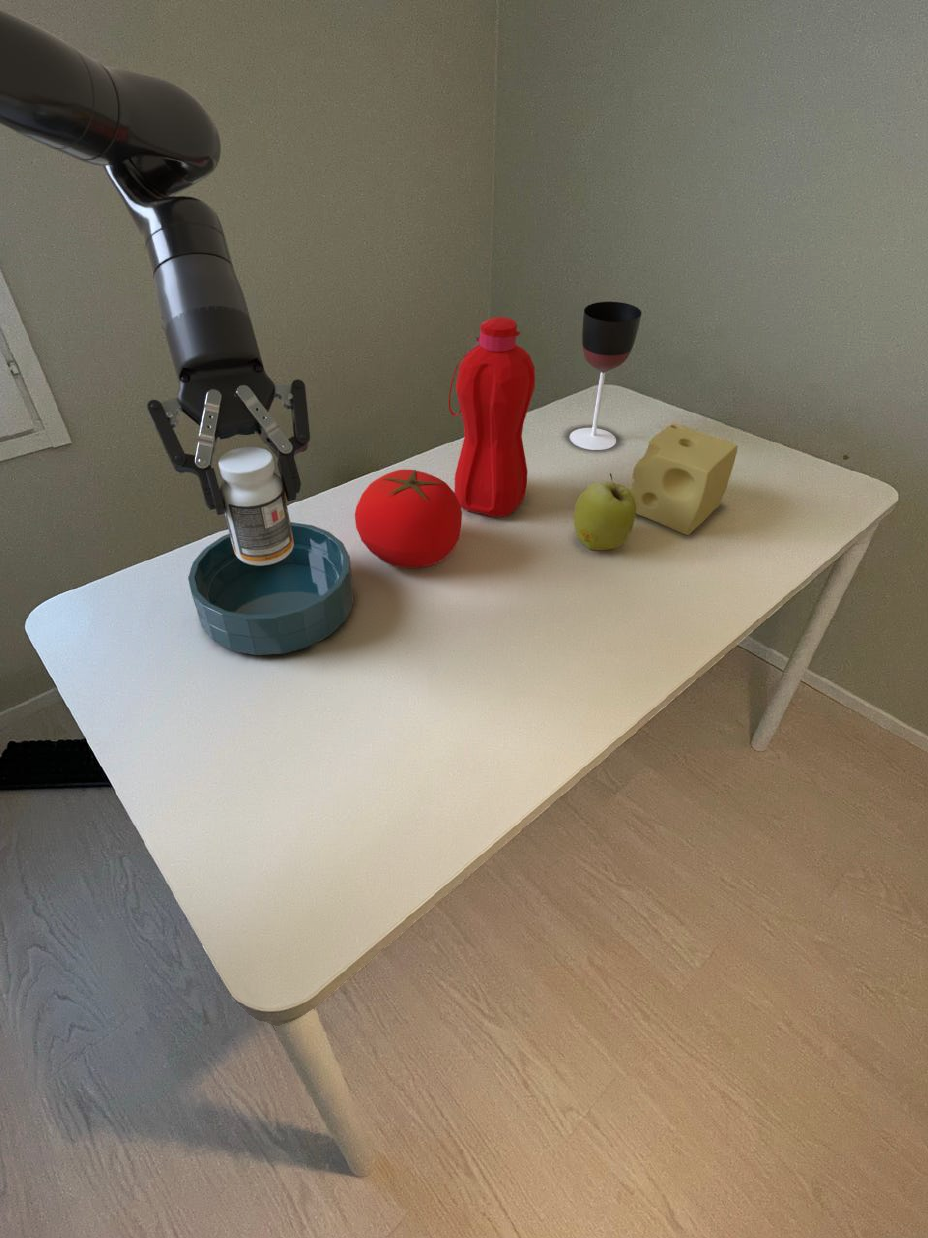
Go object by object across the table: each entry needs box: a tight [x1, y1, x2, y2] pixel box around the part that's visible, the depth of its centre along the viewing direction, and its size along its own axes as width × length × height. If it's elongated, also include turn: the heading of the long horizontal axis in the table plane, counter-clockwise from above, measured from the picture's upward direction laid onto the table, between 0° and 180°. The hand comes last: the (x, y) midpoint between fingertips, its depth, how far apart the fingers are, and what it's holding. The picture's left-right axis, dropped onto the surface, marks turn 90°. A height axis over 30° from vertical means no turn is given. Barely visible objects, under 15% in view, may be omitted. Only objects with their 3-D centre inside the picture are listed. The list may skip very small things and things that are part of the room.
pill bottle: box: [218, 446, 294, 566], centre depth 65 cm, size 6×6×10 cm
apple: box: [573, 473, 637, 551], centre depth 90 cm, size 8×8×10 cm
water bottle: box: [448, 316, 536, 518], centre depth 92 cm, size 9×11×25 cm
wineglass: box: [569, 301, 642, 451], centre depth 108 cm, size 8×9×20 cm
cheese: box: [627, 422, 739, 536], centre depth 96 cm, size 10×11×10 cm
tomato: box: [354, 469, 463, 569], centre depth 87 cm, size 12×13×11 cm
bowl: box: [187, 521, 354, 656], centre depth 80 cm, size 17×17×6 cm
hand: (257, 504), depth 63 cm, fingers closed on pill bottle, 5 cm apart
